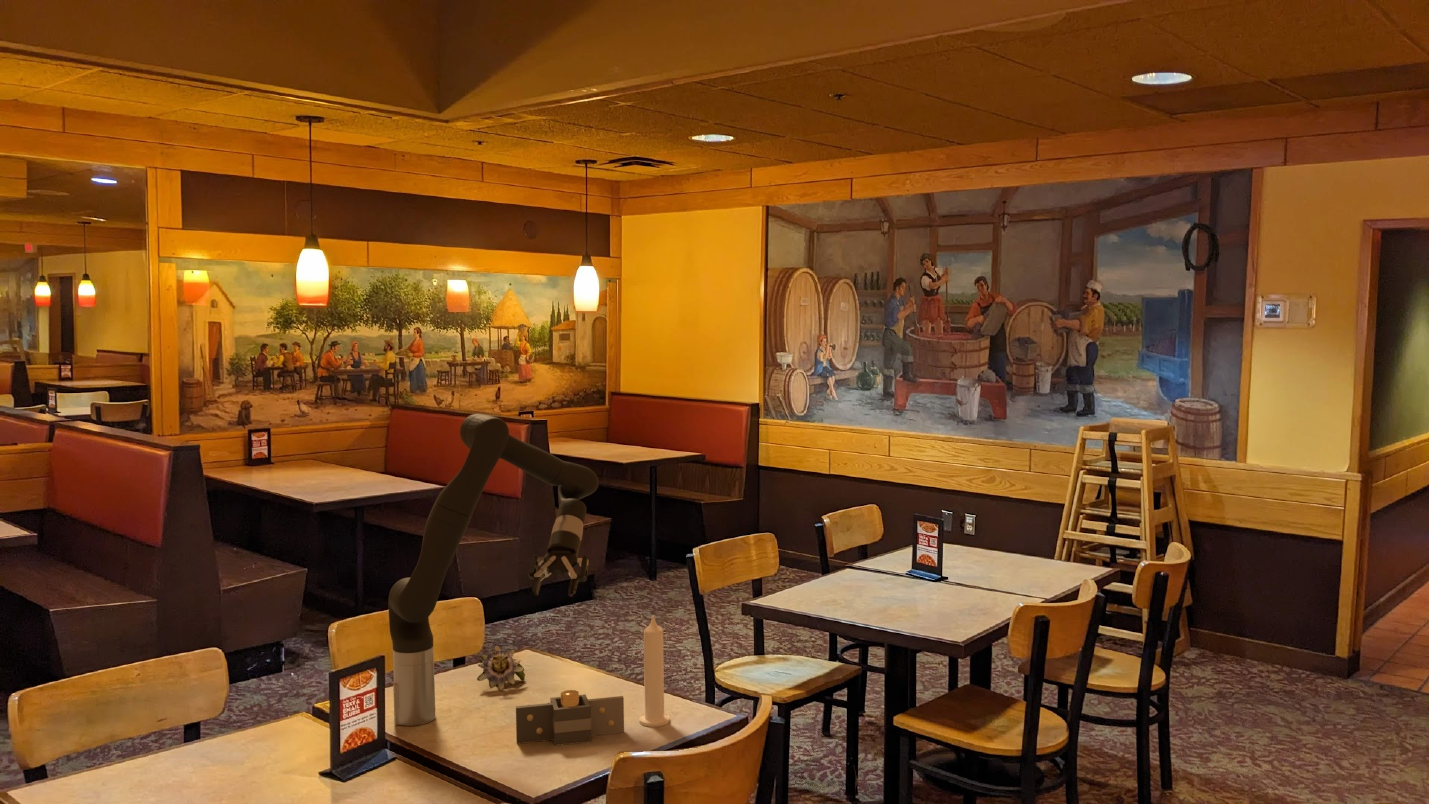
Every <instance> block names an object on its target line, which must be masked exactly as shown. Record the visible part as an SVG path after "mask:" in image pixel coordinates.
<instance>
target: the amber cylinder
mask: <svg viewBox="0 0 1429 804" xmlns="http://www.w3.org/2000/svg"><path fill="white" fill-rule="evenodd" d="M579 695H580V693H579V691H578V690H575V689H568V690H564V691H561V692H560V697H561V708H563V707H573V706H579Z"/></svg>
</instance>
